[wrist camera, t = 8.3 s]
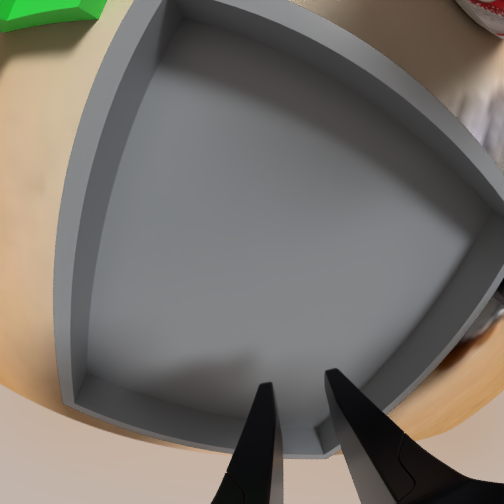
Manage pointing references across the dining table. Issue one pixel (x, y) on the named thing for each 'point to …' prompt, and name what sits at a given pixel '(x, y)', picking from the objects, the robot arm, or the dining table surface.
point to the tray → (262, 226)
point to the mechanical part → (46, 12)
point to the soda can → (486, 14)
